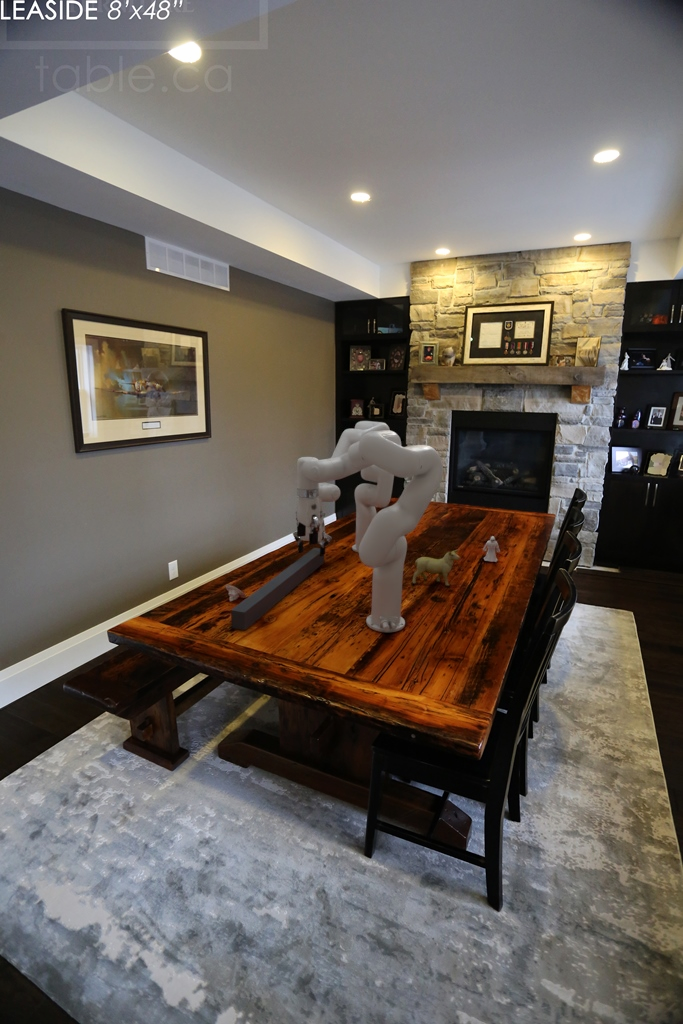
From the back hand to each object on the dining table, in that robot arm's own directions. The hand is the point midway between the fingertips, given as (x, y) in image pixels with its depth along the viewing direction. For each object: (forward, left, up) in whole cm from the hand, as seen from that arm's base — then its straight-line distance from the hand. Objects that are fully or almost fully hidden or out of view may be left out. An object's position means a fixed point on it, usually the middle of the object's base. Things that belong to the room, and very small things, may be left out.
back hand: (311, 554), depth 211 cm
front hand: (+22, +21, +16) cm, 34 cm away
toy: (-22, +47, -6) cm, 53 cm away
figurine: (-64, +49, -6) cm, 81 cm away
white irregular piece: (+42, +5, -6) cm, 43 cm away
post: (+24, +11, -6) cm, 27 cm away
